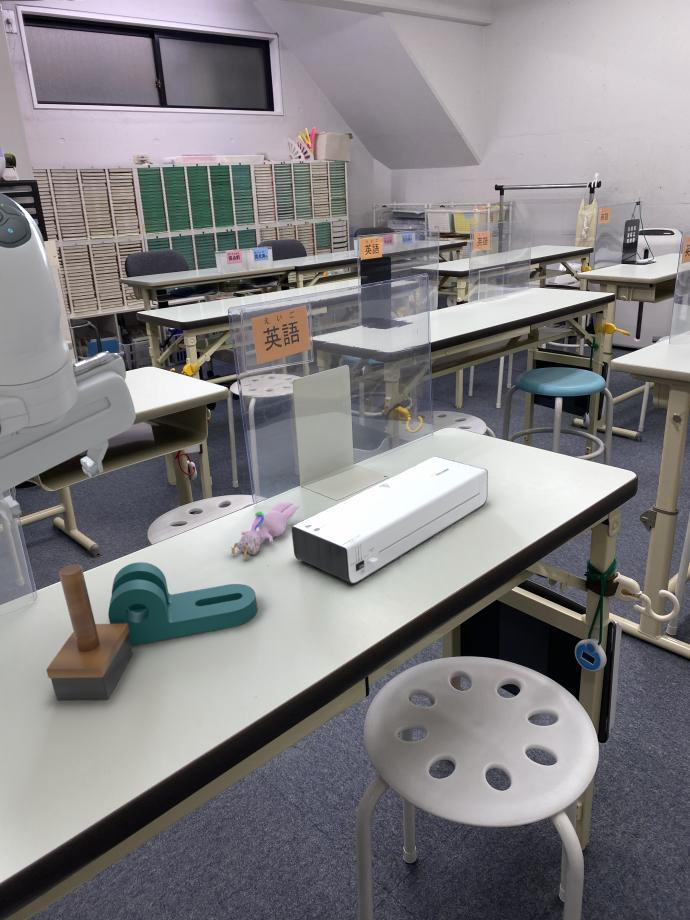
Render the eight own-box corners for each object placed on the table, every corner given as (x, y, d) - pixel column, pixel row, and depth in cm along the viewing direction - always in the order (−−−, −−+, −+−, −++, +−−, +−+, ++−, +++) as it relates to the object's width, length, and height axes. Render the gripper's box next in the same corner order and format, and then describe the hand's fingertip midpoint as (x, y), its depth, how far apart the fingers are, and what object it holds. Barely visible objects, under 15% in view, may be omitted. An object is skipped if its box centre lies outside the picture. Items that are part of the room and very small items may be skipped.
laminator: (434, 487, 124) (434, 455, 121) (493, 505, 115) (493, 471, 113) (294, 563, 102) (290, 526, 99) (354, 591, 93) (351, 551, 91)
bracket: (115, 648, 85) (103, 594, 82) (119, 618, 91) (108, 567, 88) (260, 621, 88) (252, 568, 85) (254, 594, 94) (247, 544, 92)
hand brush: (108, 701, 76) (81, 589, 71) (54, 701, 77) (24, 591, 71) (134, 653, 84) (112, 550, 79) (85, 654, 84) (60, 551, 79)
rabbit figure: (257, 570, 103) (312, 516, 113) (248, 538, 100) (306, 486, 111) (226, 561, 106) (282, 509, 117) (216, 530, 103) (275, 479, 114)
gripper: (102, 333, 71) (120, 436, 80) (-106, 414, 59) (-57, 526, 68) (140, 357, 68) (153, 462, 77) (-71, 448, 56) (-25, 560, 65)
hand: (54, 493), depth 72 cm, fingers open, 8 cm apart
